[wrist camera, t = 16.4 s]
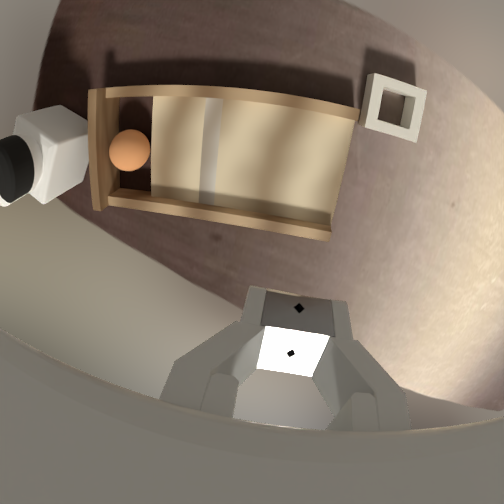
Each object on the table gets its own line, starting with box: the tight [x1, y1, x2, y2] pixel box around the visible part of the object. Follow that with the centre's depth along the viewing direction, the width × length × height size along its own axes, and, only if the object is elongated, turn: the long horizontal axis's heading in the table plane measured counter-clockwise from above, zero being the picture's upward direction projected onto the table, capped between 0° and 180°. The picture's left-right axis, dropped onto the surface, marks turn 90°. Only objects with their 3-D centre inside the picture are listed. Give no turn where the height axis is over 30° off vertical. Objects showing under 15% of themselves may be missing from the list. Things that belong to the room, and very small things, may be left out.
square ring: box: [359, 73, 427, 143], centre depth 20 cm, size 5×5×2 cm
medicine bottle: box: [0, 105, 89, 206], centre depth 22 cm, size 7×7×12 cm
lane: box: [88, 85, 360, 242], centre depth 24 cm, size 23×12×4 cm, turn 83°
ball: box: [109, 129, 150, 171], centre depth 25 cm, size 4×4×4 cm
